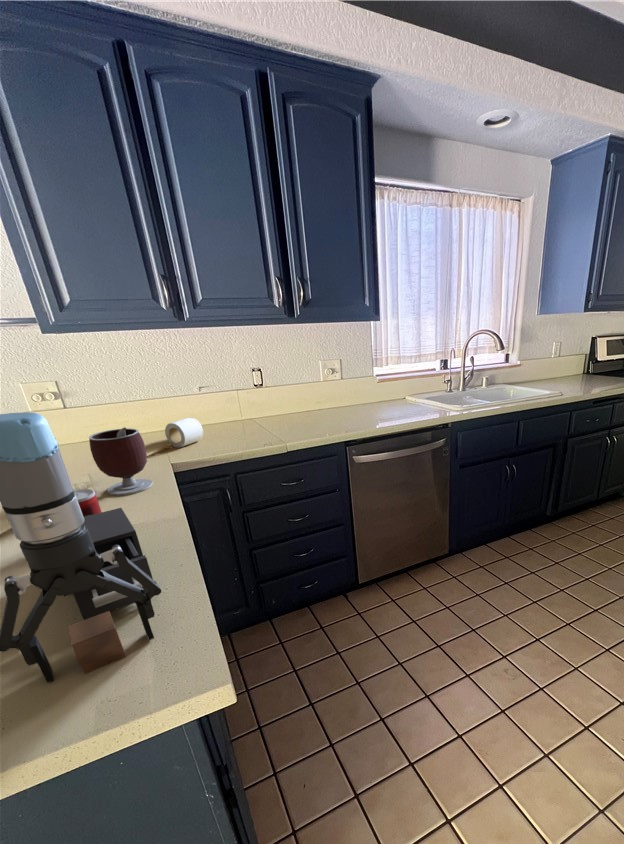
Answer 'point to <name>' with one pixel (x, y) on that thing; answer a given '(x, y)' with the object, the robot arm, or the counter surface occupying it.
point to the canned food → (87, 502)
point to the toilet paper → (183, 432)
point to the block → (96, 642)
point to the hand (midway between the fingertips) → (102, 654)
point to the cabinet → (111, 528)
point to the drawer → (104, 598)
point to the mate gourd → (121, 458)
